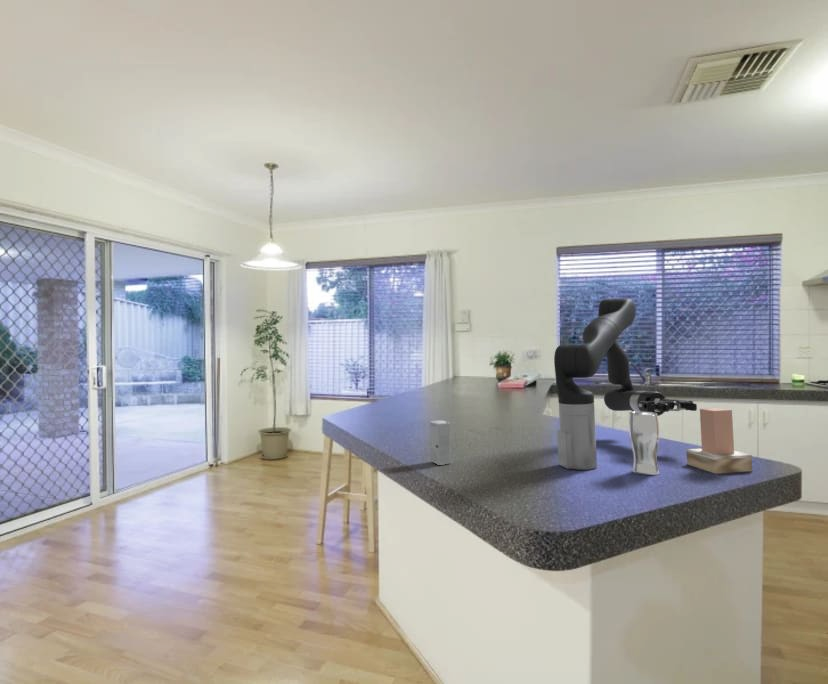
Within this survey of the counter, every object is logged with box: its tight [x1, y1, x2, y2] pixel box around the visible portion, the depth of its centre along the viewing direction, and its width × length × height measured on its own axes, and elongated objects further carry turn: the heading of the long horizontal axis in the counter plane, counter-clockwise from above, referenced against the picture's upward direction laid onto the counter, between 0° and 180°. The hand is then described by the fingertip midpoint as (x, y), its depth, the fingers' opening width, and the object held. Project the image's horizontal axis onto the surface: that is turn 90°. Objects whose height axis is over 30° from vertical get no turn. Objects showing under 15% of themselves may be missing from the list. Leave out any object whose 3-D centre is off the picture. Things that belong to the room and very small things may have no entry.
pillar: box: [699, 407, 735, 455], centre depth 121 cm, size 5×5×11 cm
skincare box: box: [429, 419, 452, 464], centre depth 137 cm, size 6×4×12 cm
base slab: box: [686, 447, 753, 474], centre depth 121 cm, size 10×10×4 cm
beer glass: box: [628, 411, 660, 476], centre depth 119 cm, size 7×7×15 cm
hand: (681, 407), depth 133 cm, fingers open, 8 cm apart
